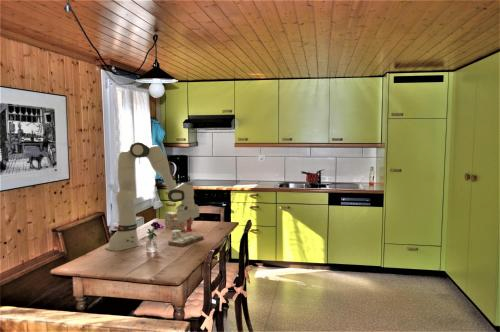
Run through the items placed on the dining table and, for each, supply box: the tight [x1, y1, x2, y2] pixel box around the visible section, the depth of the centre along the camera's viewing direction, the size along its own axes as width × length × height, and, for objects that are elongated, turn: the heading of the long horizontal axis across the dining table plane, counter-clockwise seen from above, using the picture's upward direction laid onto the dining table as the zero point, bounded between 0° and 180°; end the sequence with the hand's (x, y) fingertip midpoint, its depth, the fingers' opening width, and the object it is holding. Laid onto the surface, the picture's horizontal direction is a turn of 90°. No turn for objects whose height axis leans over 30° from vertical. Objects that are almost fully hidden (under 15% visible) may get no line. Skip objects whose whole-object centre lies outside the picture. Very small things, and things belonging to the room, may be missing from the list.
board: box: [167, 233, 204, 247], centre depth 273 cm, size 23×12×2 cm, turn 148°
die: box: [170, 229, 182, 239], centre depth 284 cm, size 5×5×5 cm
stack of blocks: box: [164, 211, 186, 232], centre depth 311 cm, size 21×6×12 cm, turn 40°
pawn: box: [185, 217, 193, 233], centre depth 274 cm, size 4×4×11 cm
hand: (188, 225), depth 274 cm, fingers closed on pawn, 3 cm apart
